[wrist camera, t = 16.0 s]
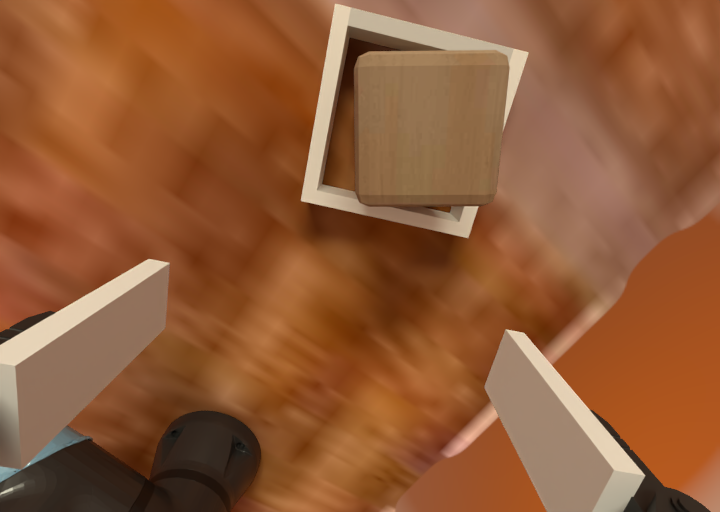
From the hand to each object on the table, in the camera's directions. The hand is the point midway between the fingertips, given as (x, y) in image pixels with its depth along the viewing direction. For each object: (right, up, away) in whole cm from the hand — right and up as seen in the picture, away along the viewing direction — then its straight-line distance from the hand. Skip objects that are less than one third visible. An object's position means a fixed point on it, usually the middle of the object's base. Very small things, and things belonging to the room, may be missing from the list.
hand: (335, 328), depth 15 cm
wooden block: (+6, +17, +29) cm, 34 cm away
